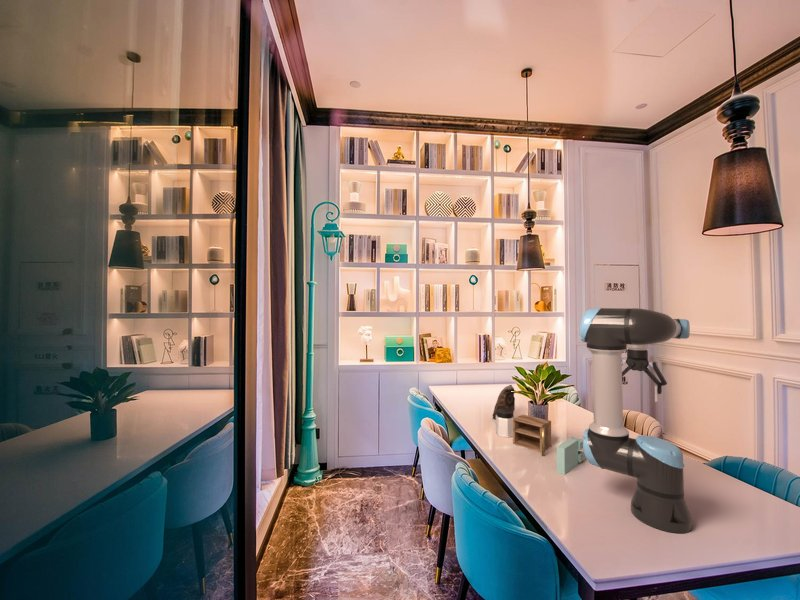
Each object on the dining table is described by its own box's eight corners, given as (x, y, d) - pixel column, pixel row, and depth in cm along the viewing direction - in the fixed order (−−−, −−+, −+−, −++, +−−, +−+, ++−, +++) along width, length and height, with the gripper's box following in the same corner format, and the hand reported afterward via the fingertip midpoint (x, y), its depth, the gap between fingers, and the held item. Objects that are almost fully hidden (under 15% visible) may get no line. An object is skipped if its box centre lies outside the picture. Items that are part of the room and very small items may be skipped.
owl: (511, 417, 209) (511, 383, 210) (522, 423, 197) (522, 388, 197) (491, 418, 206) (491, 384, 207) (502, 425, 194) (502, 388, 195)
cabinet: (541, 452, 156) (541, 425, 157) (513, 443, 167) (513, 418, 167) (551, 446, 163) (551, 420, 164) (523, 438, 174) (523, 414, 174)
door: (572, 458, 151) (572, 434, 151) (584, 461, 148) (584, 437, 148) (554, 471, 138) (554, 446, 138) (567, 475, 135) (566, 449, 135)
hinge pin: (544, 456, 152) (543, 428, 152) (541, 455, 153) (541, 428, 153) (545, 455, 153) (545, 428, 153) (542, 455, 154) (542, 427, 154)
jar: (515, 438, 174) (515, 413, 175) (499, 438, 174) (499, 413, 174) (509, 431, 183) (509, 408, 184) (494, 431, 183) (494, 408, 183)
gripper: (675, 351, 145) (675, 402, 144) (607, 346, 163) (608, 391, 162) (671, 352, 140) (672, 405, 139) (602, 347, 158) (602, 394, 157)
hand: (637, 398), depth 151 cm, fingers open, 13 cm apart
